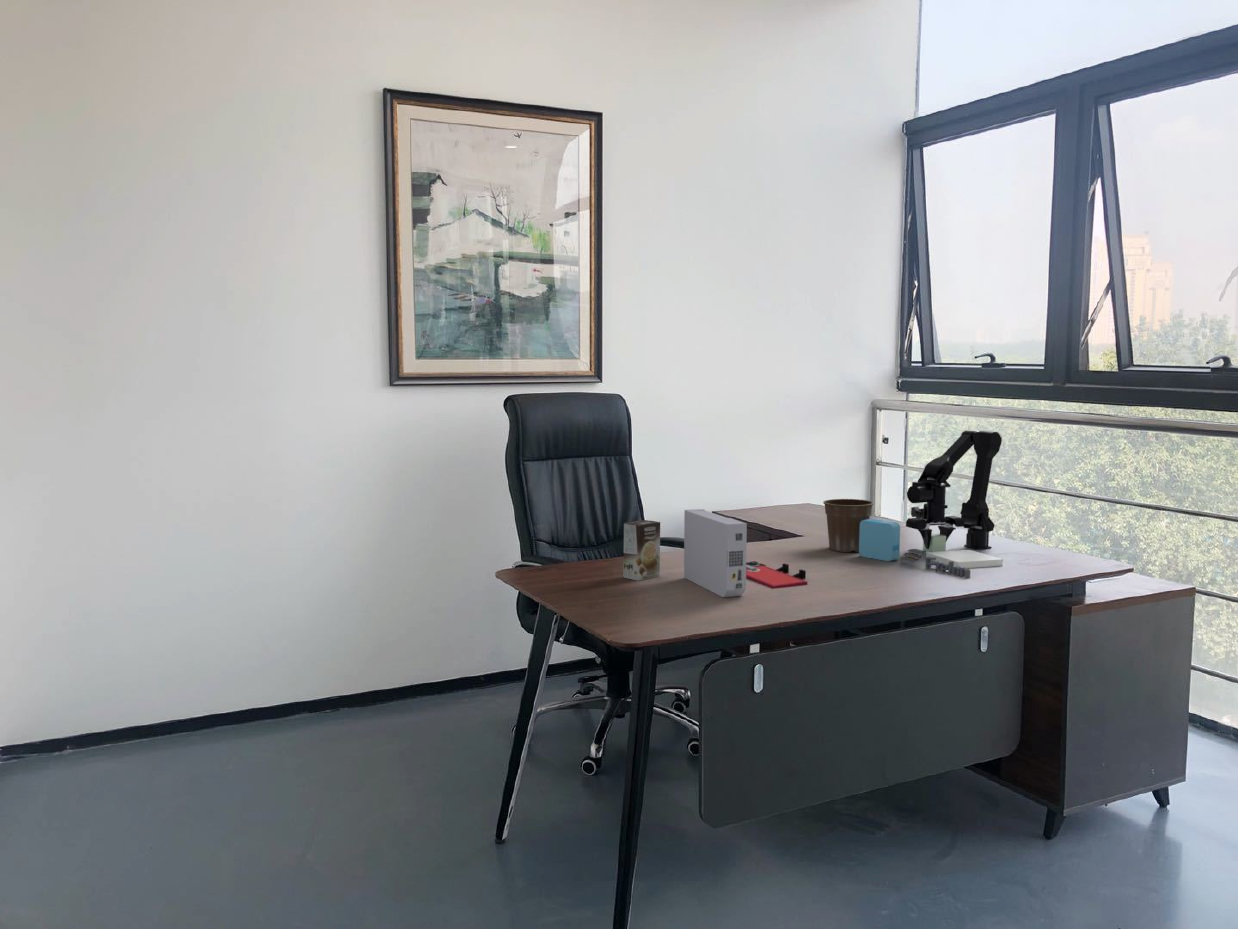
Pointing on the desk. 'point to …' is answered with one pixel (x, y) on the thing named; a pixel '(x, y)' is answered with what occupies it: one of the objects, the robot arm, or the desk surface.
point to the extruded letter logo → (936, 564)
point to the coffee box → (641, 550)
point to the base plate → (966, 558)
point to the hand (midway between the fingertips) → (934, 548)
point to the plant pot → (846, 522)
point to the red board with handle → (774, 575)
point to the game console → (715, 552)
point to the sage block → (936, 543)
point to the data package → (879, 539)
